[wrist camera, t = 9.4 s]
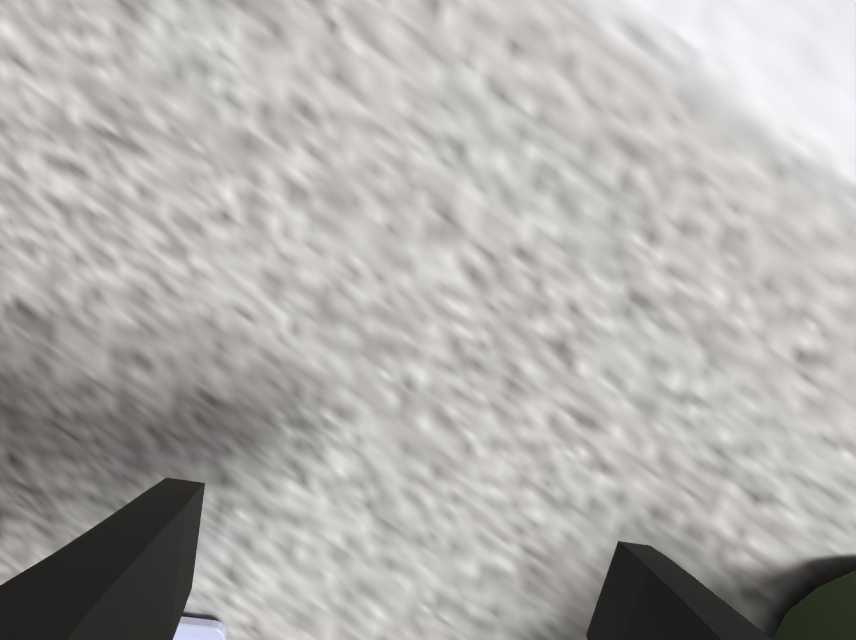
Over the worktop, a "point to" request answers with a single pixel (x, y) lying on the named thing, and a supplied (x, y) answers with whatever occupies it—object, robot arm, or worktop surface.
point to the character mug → (823, 613)
